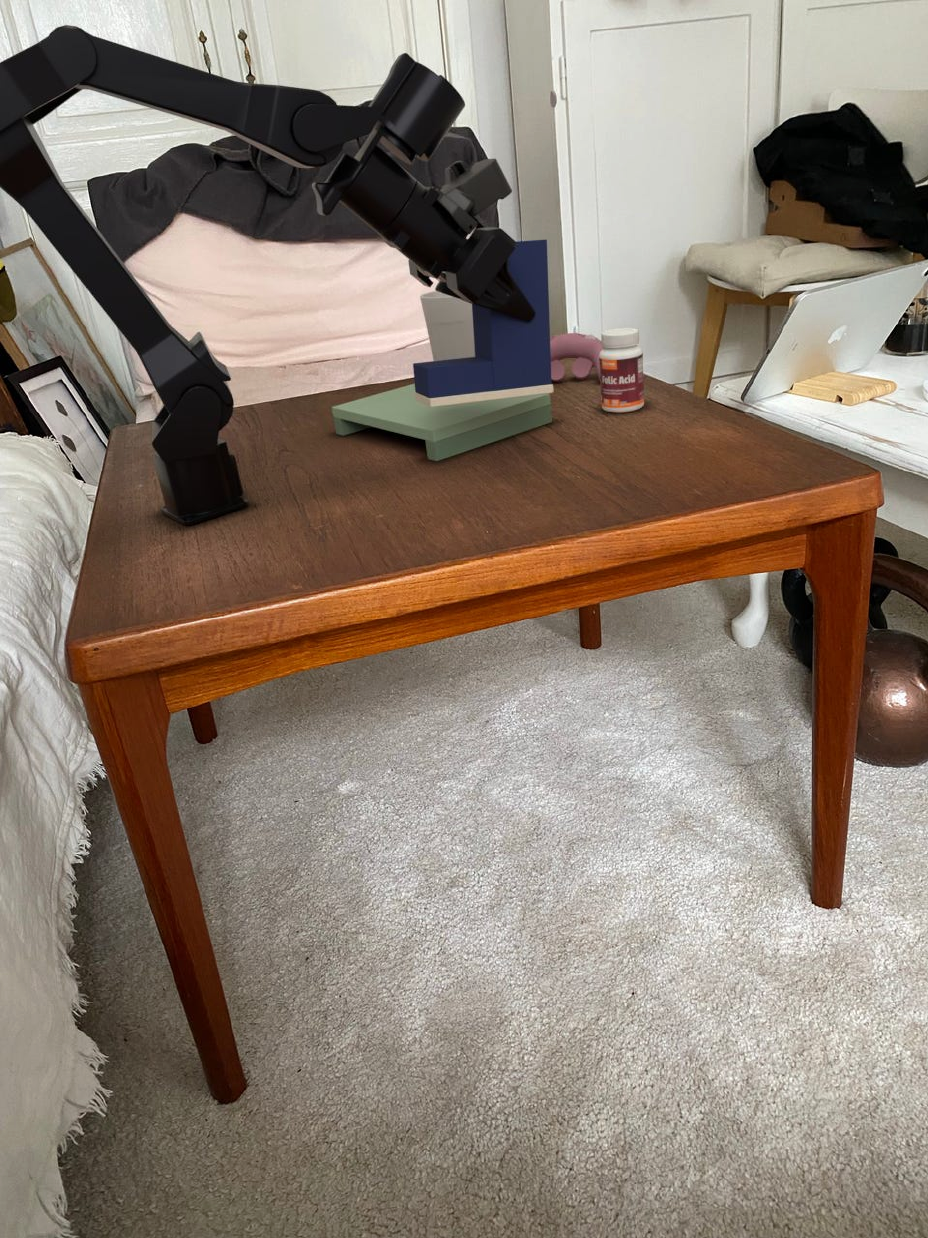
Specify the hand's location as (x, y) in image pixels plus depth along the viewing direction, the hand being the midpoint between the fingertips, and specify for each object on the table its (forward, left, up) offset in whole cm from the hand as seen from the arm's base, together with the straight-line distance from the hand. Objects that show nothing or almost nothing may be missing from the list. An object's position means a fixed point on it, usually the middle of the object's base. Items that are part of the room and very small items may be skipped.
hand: (522, 314), depth 92 cm
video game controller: (+21, +16, -13) cm, 29 cm away
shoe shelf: (-1, +14, -13) cm, 19 cm away
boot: (-5, +1, -7) cm, 9 cm away
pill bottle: (+15, +1, -13) cm, 20 cm away
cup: (+13, +28, -13) cm, 34 cm away
